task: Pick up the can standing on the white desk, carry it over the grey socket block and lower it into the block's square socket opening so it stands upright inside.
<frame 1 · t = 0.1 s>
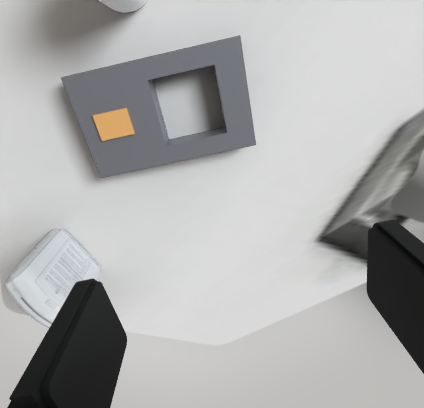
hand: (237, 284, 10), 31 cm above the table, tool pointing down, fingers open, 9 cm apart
photo printer: (75, 252, 46), on the table
grey socket block: (167, 109, 37), on the table
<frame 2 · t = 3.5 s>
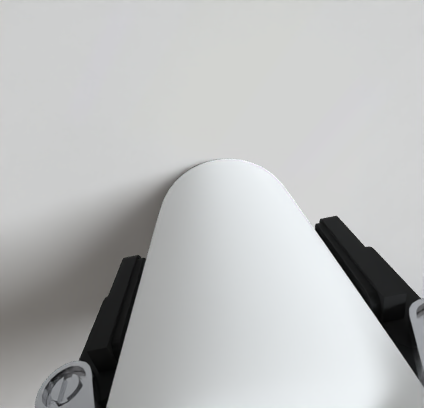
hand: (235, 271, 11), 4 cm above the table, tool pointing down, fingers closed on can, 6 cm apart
can: (225, 216, 15), on the table, touching gripper
when the fingers open (5 cm above the table, at t = 9.5 s): can drops 1 cm, resting in grey socket block.
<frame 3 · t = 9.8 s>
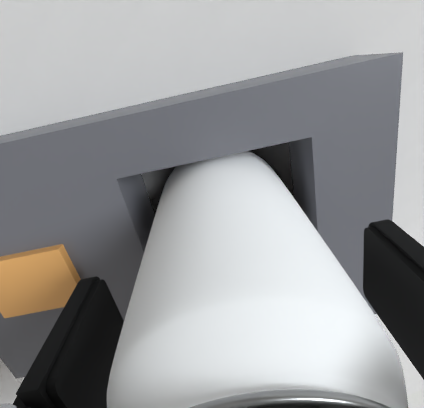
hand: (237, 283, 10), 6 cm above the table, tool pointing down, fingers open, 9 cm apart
can: (221, 201, 16), resting in grey socket block
grey socket block: (170, 217, 16), on the table
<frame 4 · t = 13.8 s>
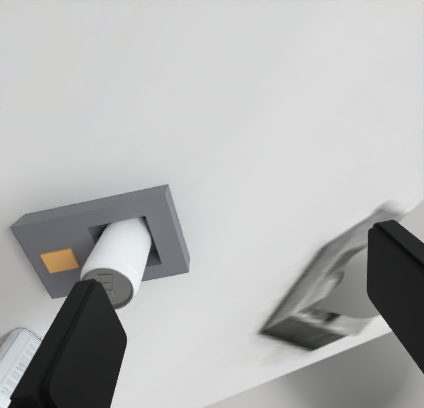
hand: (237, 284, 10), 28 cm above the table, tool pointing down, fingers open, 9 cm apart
can: (131, 230, 42), resting in grey socket block
photo printer: (37, 345, 51), on the table
grey socket block: (111, 237, 42), on the table
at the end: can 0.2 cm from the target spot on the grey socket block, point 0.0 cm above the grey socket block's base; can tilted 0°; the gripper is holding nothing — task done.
